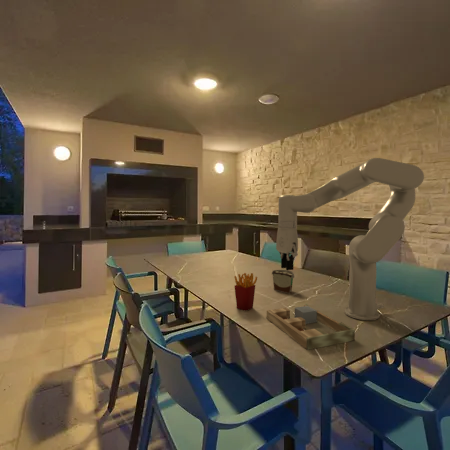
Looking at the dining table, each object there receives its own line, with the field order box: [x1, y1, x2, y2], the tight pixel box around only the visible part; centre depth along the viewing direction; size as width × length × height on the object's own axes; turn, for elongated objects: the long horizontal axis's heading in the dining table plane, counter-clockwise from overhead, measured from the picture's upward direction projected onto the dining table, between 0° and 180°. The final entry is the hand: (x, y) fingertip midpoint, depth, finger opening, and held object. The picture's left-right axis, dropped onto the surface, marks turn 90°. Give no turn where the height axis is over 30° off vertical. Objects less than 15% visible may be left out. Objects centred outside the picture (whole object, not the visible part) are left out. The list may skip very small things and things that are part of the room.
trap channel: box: [266, 304, 356, 351], centre depth 100 cm, size 18×26×4 cm
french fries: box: [233, 272, 258, 312], centre depth 121 cm, size 9×8×15 cm
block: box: [293, 305, 318, 325], centre depth 107 cm, size 6×6×4 cm
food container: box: [271, 269, 295, 294], centre depth 145 cm, size 12×6×10 cm, turn 47°
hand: (287, 268), depth 119 cm, fingers open, 3 cm apart
